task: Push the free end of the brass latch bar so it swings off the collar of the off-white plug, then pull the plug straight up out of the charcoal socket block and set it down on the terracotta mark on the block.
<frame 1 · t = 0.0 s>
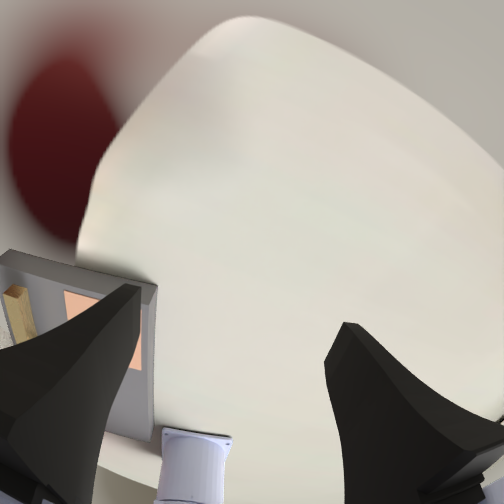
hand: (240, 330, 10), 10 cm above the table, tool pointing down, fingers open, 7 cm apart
latch bar: (37, 372, 20), point 4 cm above the table, hinge at 0.0°
socket block: (83, 354, 24), on the table
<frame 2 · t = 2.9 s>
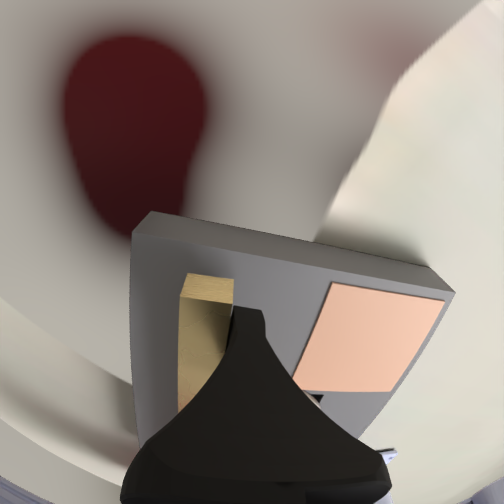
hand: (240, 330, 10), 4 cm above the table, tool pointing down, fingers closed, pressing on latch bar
latch bar: (196, 435, 13), point 4 cm above the table, hinge at 3.3°, touching gripper
socket block: (260, 386, 17), on the table
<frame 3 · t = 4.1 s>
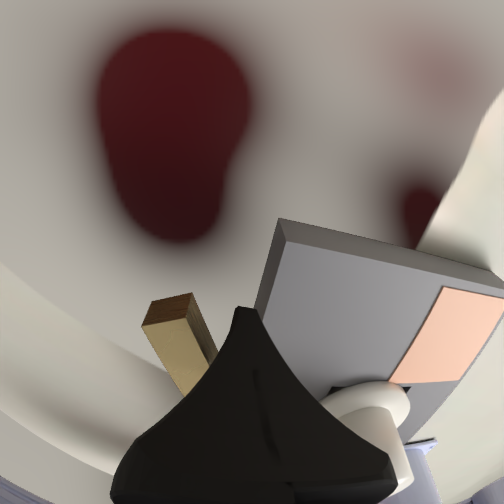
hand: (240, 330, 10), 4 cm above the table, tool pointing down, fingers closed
latch bar: (242, 443, 13), point 4 cm above the table, hinge at 27.5°, touching gripper
socket block: (344, 385, 17), on the table
plug: (347, 391, 17), point 1 cm above the table, touching socket block
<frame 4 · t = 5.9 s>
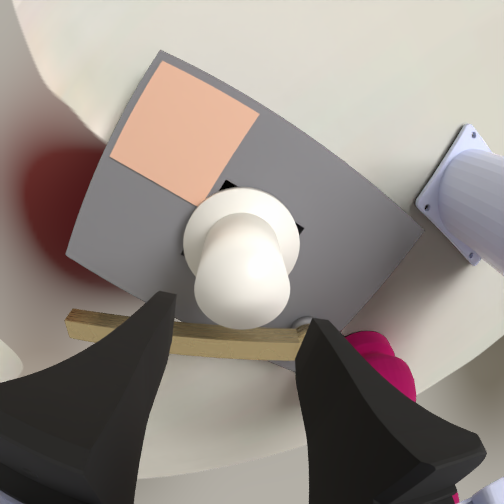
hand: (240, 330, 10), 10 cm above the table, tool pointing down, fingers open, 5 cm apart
latch bar: (192, 339, 18), point 4 cm above the table, hinge at 27.9°
socket block: (241, 226, 20), on the table
pepper mill: (356, 355, 25), on the table
plug: (241, 229, 19), point 1 cm above the table, touching socket block
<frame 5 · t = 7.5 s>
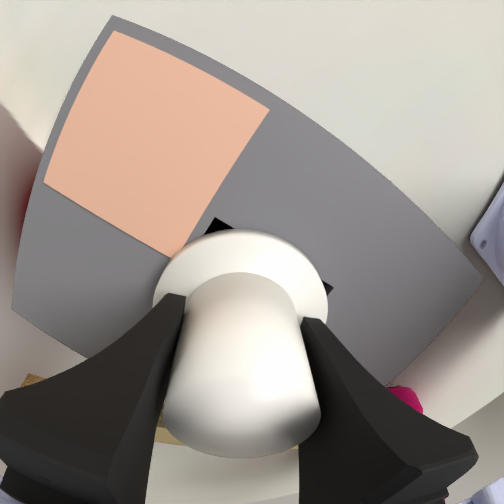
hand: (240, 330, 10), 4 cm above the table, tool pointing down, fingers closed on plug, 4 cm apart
latch bar: (176, 425, 12), point 4 cm above the table, hinge at 27.9°
socket block: (240, 275, 14), on the table
pepper mill: (377, 410, 19), on the table
plug: (239, 281, 13), point 1 cm above the table, touching gripper, socket block
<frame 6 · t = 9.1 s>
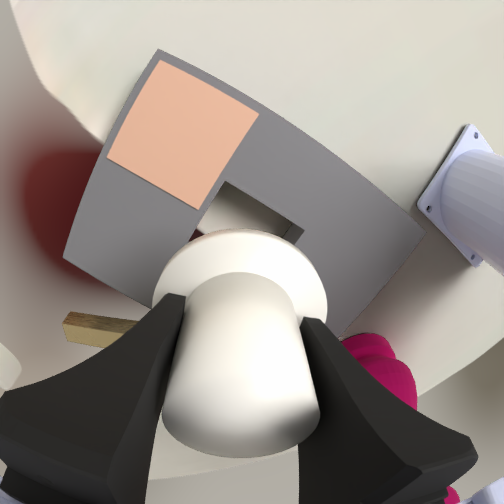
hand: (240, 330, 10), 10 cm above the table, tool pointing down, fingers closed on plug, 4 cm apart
latch bar: (190, 342, 18), point 4 cm above the table, hinge at 27.9°
socket block: (241, 228, 19), on the table
pepper mill: (356, 357, 25), on the table
plug: (239, 281, 13), point 7 cm above the table, touching gripper
when the fingers open (7 cm above the table, at t = 11.0 s): plug drops 1 cm, resting on socket block.
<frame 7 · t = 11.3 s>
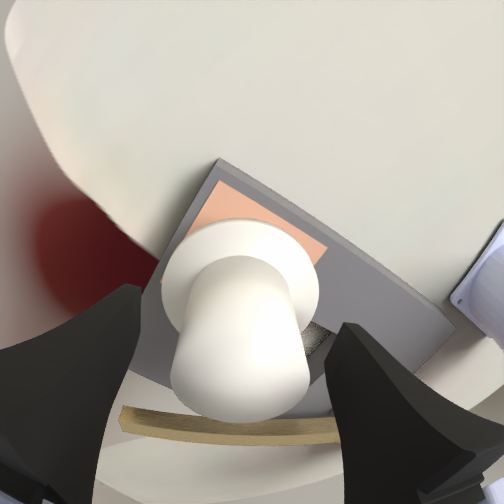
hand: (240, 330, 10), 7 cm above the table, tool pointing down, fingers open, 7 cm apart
latch bar: (245, 432, 18), point 4 cm above the table, hinge at 27.9°
socket block: (290, 330, 20), on the table
plug: (240, 267, 15), point 3 cm above the table, touching socket block
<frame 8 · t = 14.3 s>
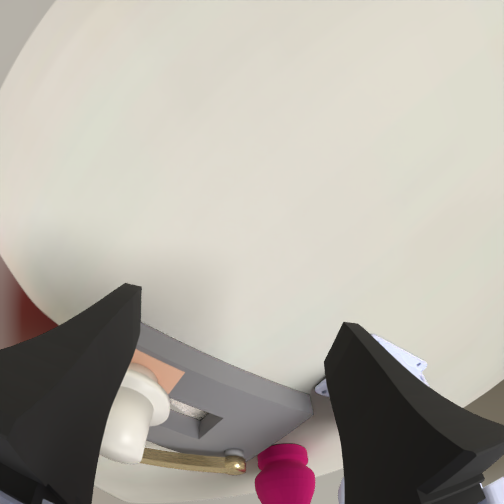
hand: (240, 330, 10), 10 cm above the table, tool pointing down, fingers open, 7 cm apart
latch bar: (163, 459, 25), point 4 cm above the table, hinge at 27.9°
socket block: (188, 401, 27), on the table
pepper mill: (282, 452, 33), on the table
plug: (137, 377, 22), point 3 cm above the table, touching socket block
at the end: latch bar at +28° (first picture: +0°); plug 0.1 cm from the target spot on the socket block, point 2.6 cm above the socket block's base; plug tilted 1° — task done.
